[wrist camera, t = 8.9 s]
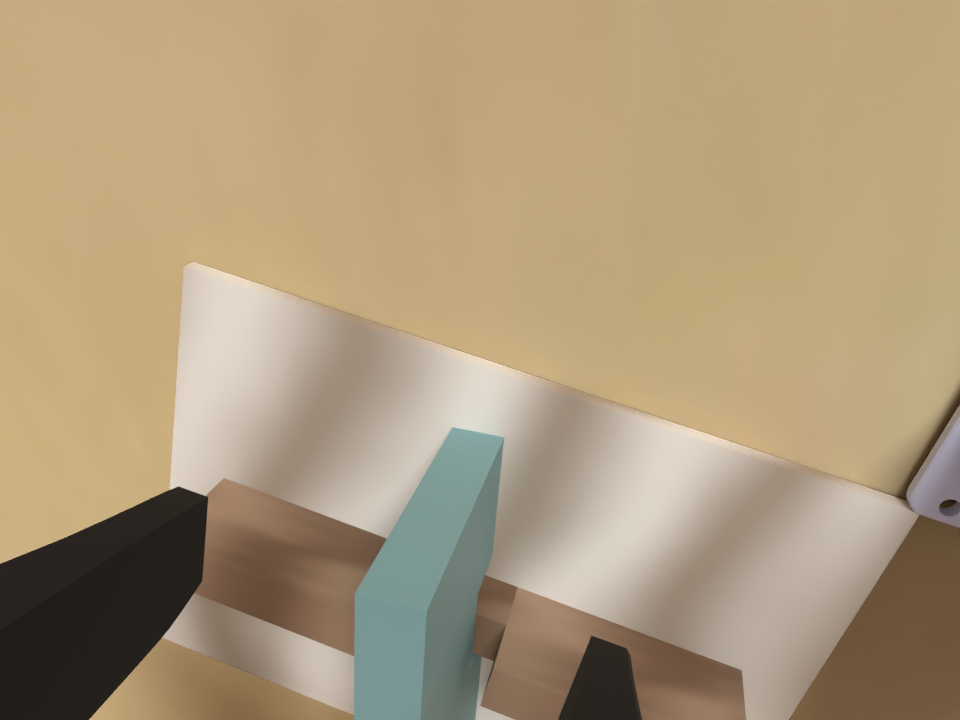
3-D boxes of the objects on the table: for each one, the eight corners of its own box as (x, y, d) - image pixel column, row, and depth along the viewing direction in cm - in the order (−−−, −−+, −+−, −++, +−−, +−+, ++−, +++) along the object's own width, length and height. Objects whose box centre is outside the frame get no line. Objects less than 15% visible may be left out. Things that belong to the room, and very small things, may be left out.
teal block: (504, 437, 22) (426, 610, 16) (475, 721, 27) (407, 945, 21) (452, 427, 22) (354, 593, 16) (433, 709, 27) (353, 927, 21)
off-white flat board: (915, 503, 20) (963, 603, 17) (701, 842, 27) (703, 962, 24) (193, 261, 23) (103, 303, 19) (168, 628, 30) (98, 708, 27)
